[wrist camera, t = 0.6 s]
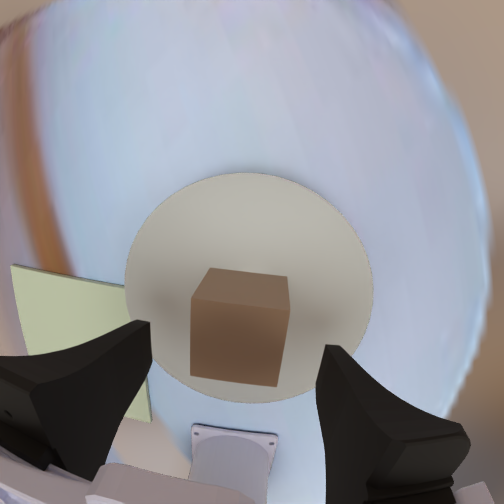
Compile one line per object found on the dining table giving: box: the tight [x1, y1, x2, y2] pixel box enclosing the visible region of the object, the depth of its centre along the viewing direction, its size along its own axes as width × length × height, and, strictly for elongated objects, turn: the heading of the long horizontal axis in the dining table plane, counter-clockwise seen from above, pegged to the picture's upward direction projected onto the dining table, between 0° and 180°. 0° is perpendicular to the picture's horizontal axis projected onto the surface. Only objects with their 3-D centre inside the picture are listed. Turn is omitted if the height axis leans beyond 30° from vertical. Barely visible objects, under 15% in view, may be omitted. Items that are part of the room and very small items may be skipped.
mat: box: [11, 264, 152, 423], centre depth 24 cm, size 14×14×1 cm
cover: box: [125, 173, 373, 403], centre depth 15 cm, size 14×14×5 cm
